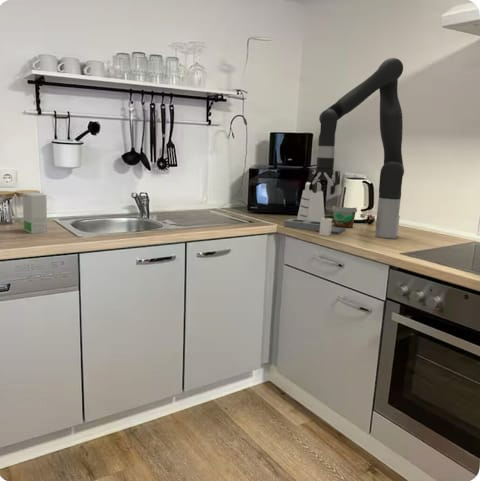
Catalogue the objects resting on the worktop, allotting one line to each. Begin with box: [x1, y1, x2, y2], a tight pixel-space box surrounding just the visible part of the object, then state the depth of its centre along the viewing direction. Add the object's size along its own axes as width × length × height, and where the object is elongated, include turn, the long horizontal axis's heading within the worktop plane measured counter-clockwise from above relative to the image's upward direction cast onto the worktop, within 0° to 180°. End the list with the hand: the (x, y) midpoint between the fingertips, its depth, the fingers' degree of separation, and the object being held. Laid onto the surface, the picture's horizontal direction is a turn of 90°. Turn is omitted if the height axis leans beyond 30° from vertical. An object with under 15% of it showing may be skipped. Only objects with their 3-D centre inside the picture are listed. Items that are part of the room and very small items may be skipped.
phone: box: [330, 226, 347, 235], centre depth 209 cm, size 6×12×1 cm, turn 152°
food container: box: [331, 205, 358, 229], centre depth 221 cm, size 12×6×10 cm, turn 62°
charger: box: [319, 217, 333, 236], centre depth 201 cm, size 4×4×7 cm
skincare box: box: [22, 191, 48, 235], centre depth 183 cm, size 8×7×16 cm
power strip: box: [283, 218, 320, 232], centre depth 215 cm, size 20×9×3 cm, turn 62°
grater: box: [296, 181, 326, 222], centre depth 236 cm, size 10×10×20 cm
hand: (323, 193), depth 201 cm, fingers open, 8 cm apart
